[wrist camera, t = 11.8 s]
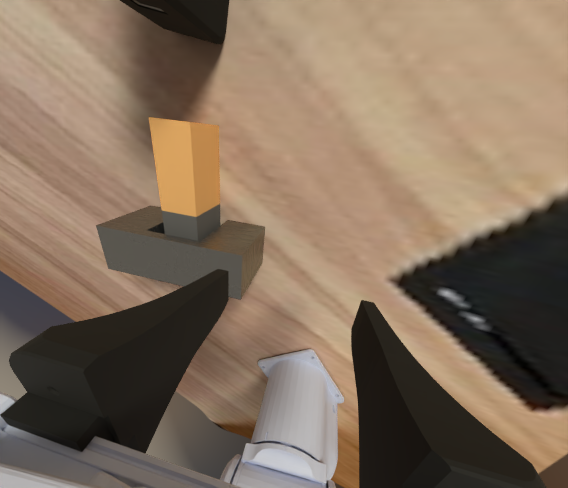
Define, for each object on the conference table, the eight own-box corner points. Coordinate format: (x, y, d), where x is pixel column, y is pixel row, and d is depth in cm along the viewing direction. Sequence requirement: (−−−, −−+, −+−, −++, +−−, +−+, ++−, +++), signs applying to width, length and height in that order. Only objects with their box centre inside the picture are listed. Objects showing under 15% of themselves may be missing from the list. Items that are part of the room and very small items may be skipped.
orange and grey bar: (220, 262, 24) (200, 284, 20) (195, 257, 24) (170, 277, 21) (218, 125, 18) (189, 122, 14) (184, 121, 18) (148, 117, 15)
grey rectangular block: (262, 263, 23) (240, 299, 17) (156, 241, 24) (108, 268, 19) (265, 227, 21) (242, 255, 16) (150, 205, 22) (95, 225, 17)
